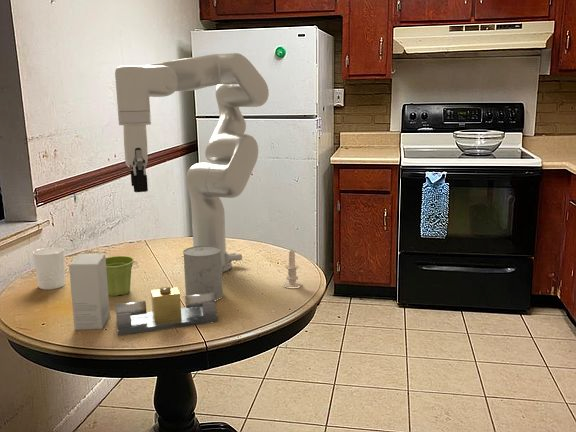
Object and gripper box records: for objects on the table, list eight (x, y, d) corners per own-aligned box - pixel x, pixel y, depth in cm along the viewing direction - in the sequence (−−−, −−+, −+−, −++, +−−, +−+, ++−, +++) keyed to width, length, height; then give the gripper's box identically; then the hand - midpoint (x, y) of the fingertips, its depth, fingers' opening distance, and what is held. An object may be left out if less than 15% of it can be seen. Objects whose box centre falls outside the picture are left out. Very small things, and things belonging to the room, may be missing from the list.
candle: (282, 289, 151) (281, 251, 148) (283, 282, 156) (282, 246, 153) (301, 289, 150) (301, 251, 148) (302, 282, 155) (301, 246, 153)
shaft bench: (210, 308, 138) (209, 286, 137) (217, 321, 129) (217, 299, 128) (116, 320, 131) (114, 297, 130) (118, 335, 123) (116, 311, 121)
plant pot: (123, 300, 144) (121, 267, 142) (91, 296, 146) (88, 264, 145) (143, 288, 152) (140, 257, 151) (112, 285, 155) (110, 254, 153)
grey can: (229, 292, 148) (227, 247, 146) (212, 305, 140) (210, 257, 137) (196, 288, 152) (194, 244, 149) (178, 301, 143) (175, 254, 140)
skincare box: (83, 316, 134) (77, 253, 130) (112, 315, 134) (106, 252, 131) (73, 331, 125) (66, 263, 122) (103, 329, 126) (98, 262, 123)
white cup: (56, 291, 151) (52, 255, 149) (30, 289, 152) (26, 254, 150) (73, 281, 158) (69, 247, 156) (48, 280, 160) (44, 246, 158)
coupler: (154, 322, 127) (152, 293, 126) (152, 314, 131) (150, 287, 130) (181, 318, 129) (179, 290, 128) (178, 311, 133) (177, 284, 132)
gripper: (117, 117, 143) (122, 184, 147) (119, 120, 127) (125, 195, 131) (147, 116, 145) (151, 182, 149) (154, 119, 129) (158, 193, 133)
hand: (139, 188), depth 140 cm, fingers open, 9 cm apart
